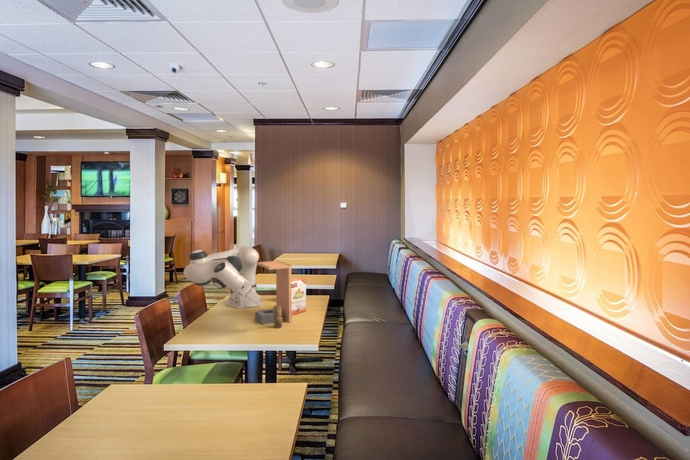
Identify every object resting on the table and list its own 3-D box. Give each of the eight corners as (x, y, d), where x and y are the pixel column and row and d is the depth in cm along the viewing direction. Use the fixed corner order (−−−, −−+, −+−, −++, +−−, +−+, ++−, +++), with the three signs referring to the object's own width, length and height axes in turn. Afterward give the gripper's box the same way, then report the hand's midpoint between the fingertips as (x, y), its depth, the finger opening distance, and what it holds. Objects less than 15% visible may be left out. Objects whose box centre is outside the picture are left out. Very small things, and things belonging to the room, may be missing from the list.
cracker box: (290, 316, 252) (290, 282, 251) (283, 314, 256) (283, 280, 254) (306, 311, 263) (306, 278, 262) (299, 309, 267) (299, 277, 265)
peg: (272, 327, 229) (272, 306, 229) (277, 325, 233) (277, 304, 232) (278, 328, 227) (278, 307, 227) (283, 326, 231) (282, 305, 230)
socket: (262, 324, 235) (261, 315, 235) (255, 319, 245) (255, 310, 245) (282, 321, 241) (282, 313, 241) (274, 316, 251) (274, 308, 251)
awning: (269, 325, 233) (269, 266, 231) (258, 317, 250) (257, 262, 248) (291, 322, 240) (291, 265, 237) (278, 314, 257) (278, 260, 255)
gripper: (231, 287, 226) (249, 303, 232) (242, 295, 208) (261, 312, 214) (239, 278, 228) (257, 294, 234) (251, 285, 210) (269, 302, 216)
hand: (259, 303), depth 224 cm, fingers open, 8 cm apart
